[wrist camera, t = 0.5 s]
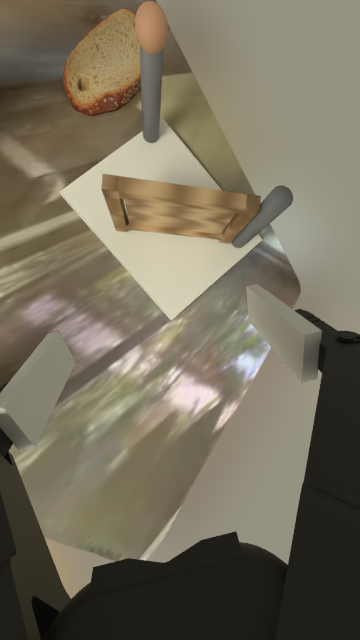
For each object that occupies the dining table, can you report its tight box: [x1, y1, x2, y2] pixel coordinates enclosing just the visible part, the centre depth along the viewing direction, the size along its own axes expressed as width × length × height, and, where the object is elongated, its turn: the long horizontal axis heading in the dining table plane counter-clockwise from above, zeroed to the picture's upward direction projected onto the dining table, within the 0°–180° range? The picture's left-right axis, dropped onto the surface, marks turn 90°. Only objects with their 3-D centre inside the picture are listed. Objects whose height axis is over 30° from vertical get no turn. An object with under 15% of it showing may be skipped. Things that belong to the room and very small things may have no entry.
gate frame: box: [60, 1, 293, 320], centre depth 35 cm, size 30×24×18 cm
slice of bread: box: [63, 9, 141, 116], centre depth 42 cm, size 18×18×4 cm
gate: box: [101, 174, 260, 244], centre depth 36 cm, size 21×2×12 cm, turn 86°
